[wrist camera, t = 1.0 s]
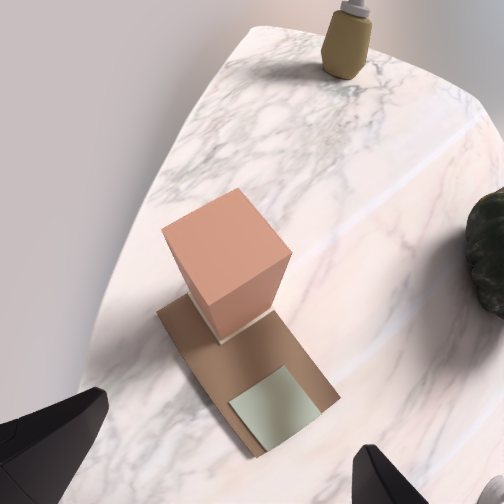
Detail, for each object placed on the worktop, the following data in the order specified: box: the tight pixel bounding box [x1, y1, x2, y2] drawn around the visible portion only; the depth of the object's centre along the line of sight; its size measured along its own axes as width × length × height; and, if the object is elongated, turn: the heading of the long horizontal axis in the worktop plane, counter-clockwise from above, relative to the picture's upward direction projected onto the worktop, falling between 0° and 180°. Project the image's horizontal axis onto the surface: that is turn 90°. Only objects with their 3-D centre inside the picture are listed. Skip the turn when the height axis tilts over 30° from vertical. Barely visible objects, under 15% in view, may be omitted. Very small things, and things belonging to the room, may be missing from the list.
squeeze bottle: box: [321, 0, 372, 79], centre depth 33 cm, size 8×8×18 cm
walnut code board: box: [157, 291, 341, 458], centre depth 21 cm, size 8×14×1 cm, turn 35°
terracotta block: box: [161, 188, 292, 340], centre depth 18 cm, size 4×4×10 cm
